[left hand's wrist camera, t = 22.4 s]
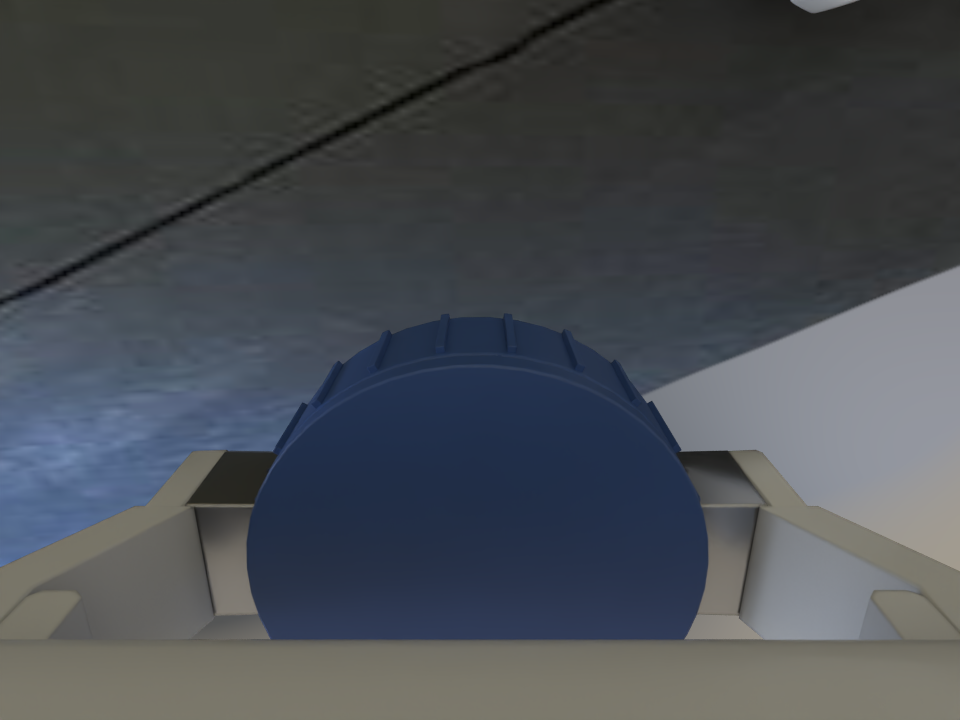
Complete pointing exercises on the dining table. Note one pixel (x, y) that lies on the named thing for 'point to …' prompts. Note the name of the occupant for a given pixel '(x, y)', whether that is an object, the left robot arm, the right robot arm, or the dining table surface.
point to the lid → (477, 497)
